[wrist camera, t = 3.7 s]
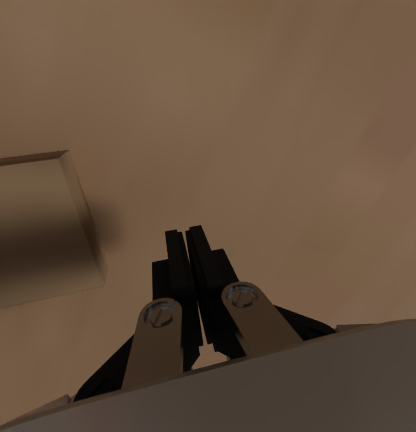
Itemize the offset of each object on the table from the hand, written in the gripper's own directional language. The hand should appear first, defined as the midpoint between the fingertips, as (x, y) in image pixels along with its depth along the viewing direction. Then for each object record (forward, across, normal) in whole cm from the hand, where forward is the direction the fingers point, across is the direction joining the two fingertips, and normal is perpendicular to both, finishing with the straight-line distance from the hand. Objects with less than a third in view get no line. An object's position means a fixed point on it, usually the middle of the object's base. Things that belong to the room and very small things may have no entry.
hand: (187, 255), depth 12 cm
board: (+6, +9, -1) cm, 11 cm away
